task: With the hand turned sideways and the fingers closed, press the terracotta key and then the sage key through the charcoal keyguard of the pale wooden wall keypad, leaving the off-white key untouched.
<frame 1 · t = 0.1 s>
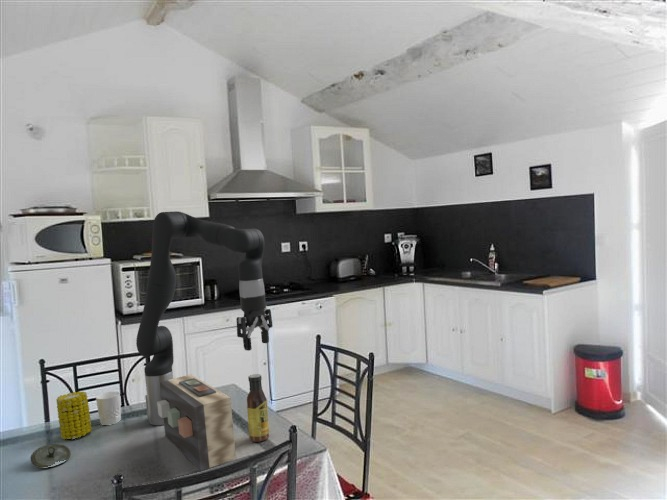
hand: (256, 346, 158), 29 cm above the table, tool pointing down, fingers open, 8 cm apart
keypad: (189, 449, 157), on the table
ivory key: (163, 408, 162), point 11 cm above the table, slide at 0.0 cm
food: (76, 435, 175), on the table
terracotta key: (185, 427, 146), point 11 cm above the table, slide at 0.0 cm
white cup: (110, 422, 185), on the table
sage key: (173, 417, 154), point 11 cm above the table, slide at 0.0 cm
sauce bottle: (259, 439, 161), on the table
lid: (51, 463, 156), on the table
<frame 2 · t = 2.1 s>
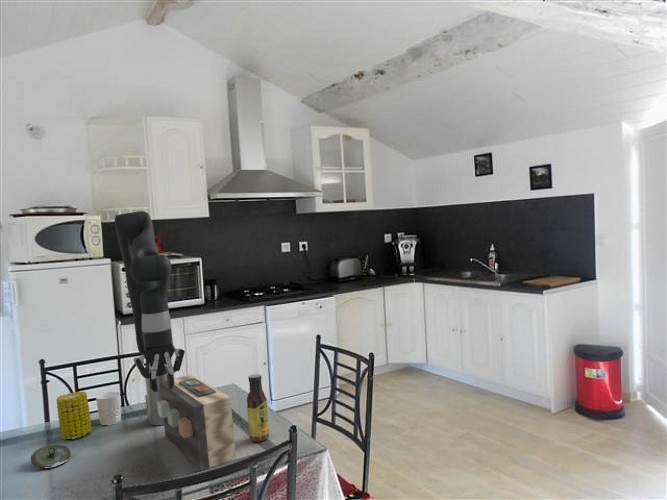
hand: (162, 389, 143), 23 cm above the table, tool pointing down, fingers open, 3 cm apart
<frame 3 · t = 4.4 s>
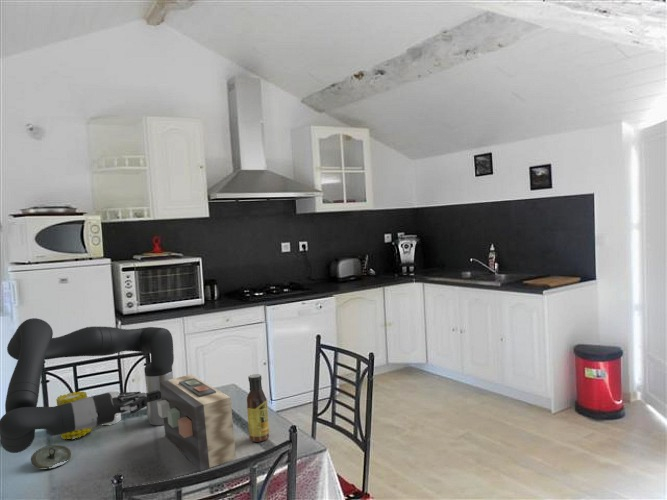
hand: (160, 394, 142), 22 cm above the table, tool horizontal, fingers closed
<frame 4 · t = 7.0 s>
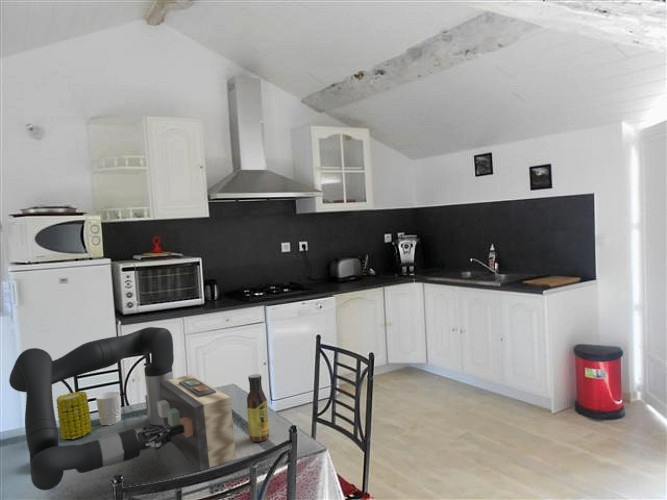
hand: (183, 428, 146), 11 cm above the table, tool horizontal, fingers closed
terracotta key: (187, 426, 146), point 11 cm above the table, slide at 0.6 cm, touching gripper
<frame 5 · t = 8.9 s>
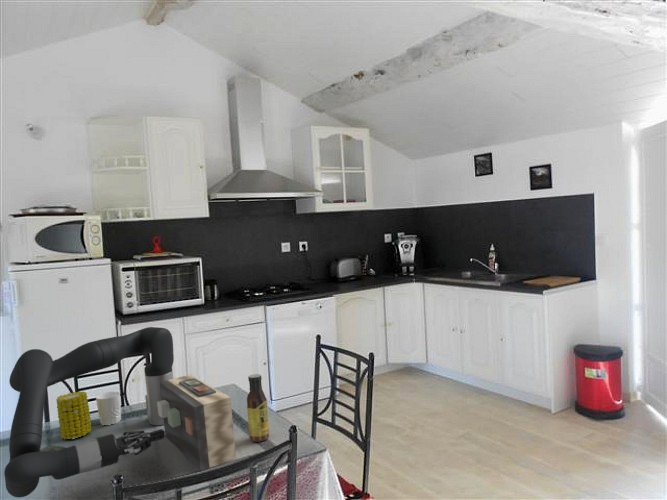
hand: (163, 433, 143), 11 cm above the table, tool horizontal, fingers closed
terracotta key: (192, 425, 147), point 11 cm above the table, slide at 2.0 cm
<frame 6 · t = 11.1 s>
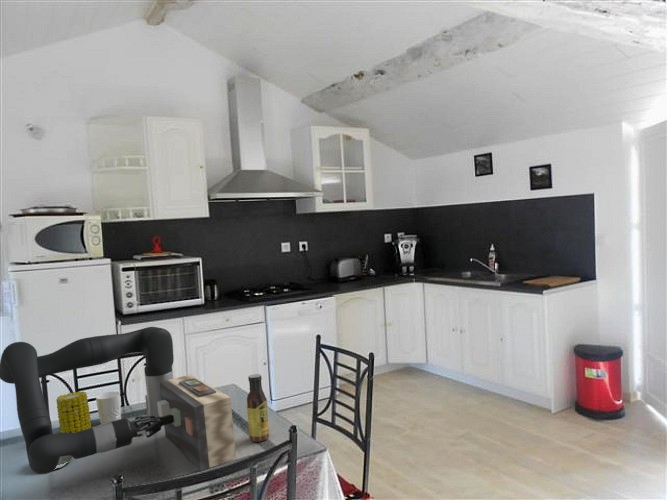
hand: (172, 418, 154), 11 cm above the table, tool horizontal, fingers closed
sage key: (176, 416, 155), point 11 cm above the table, slide at 0.9 cm, touching gripper
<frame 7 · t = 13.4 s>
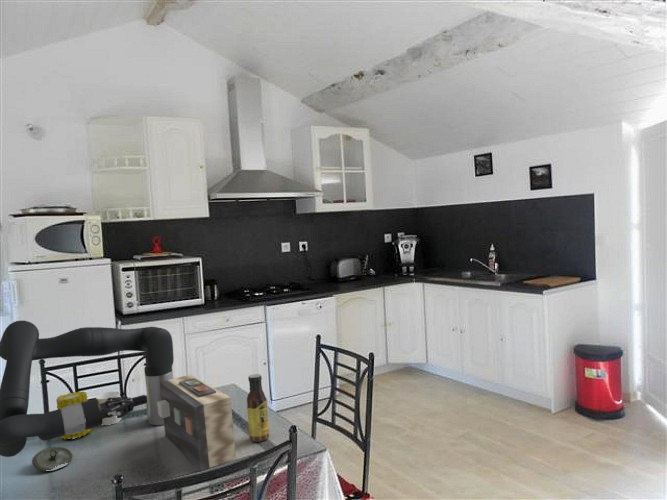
hand: (146, 398, 150), 19 cm above the table, tool horizontal, fingers closed
sage key: (180, 415, 155), point 11 cm above the table, slide at 2.0 cm
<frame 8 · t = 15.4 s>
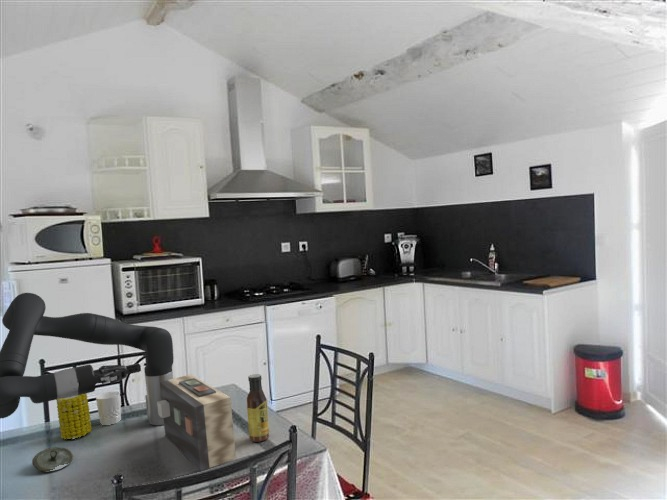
hand: (140, 367, 149), 28 cm above the table, tool horizontal, fingers closed
at the end: terracotta key slide at 2.0 cm; sage key slide at 2.0 cm; ivory key slide at 0.0 cm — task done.
